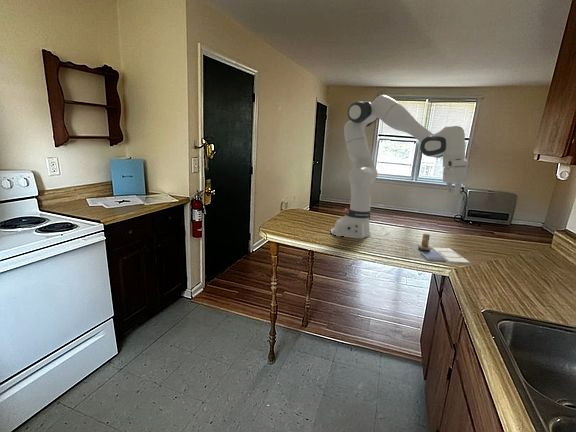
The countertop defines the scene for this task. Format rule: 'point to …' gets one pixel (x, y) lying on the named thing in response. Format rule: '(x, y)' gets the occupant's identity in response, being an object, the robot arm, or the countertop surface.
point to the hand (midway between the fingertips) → (453, 193)
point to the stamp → (425, 243)
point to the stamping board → (441, 255)
